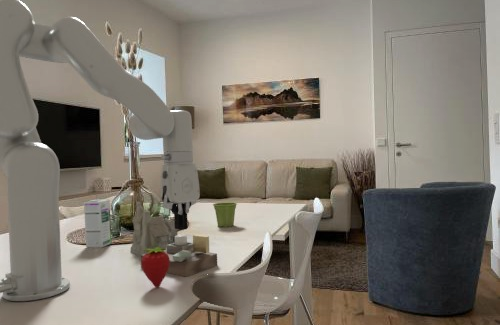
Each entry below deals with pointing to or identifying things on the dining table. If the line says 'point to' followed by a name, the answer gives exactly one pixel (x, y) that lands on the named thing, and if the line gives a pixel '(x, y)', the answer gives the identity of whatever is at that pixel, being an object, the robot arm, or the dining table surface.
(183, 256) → the sage rocker
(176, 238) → the grey push button
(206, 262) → the switch panel
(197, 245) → the beige flat square block
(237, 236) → the dining table surface
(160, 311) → the dining table surface
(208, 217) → the dining table surface
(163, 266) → the strawberry
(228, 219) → the plant pot
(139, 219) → the grey irregular lump
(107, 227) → the syrup box
